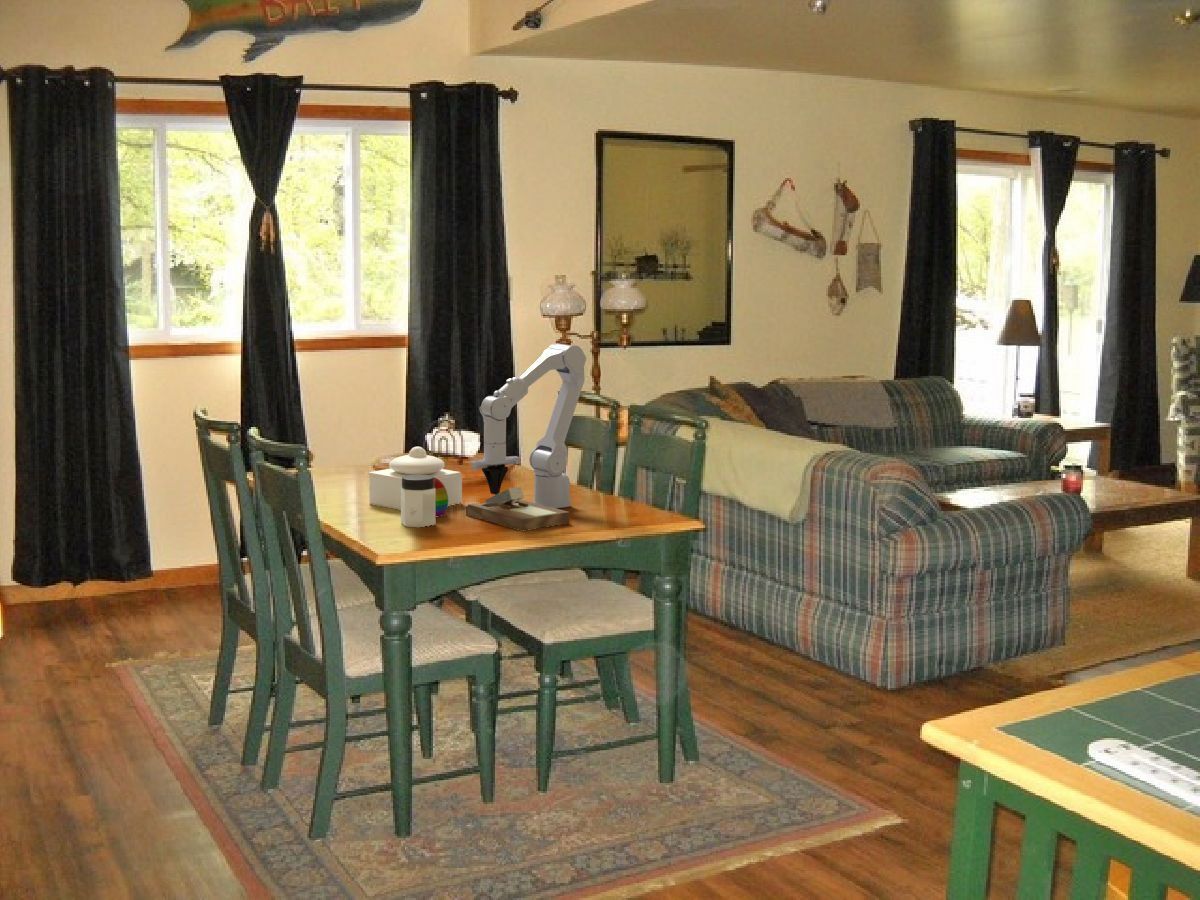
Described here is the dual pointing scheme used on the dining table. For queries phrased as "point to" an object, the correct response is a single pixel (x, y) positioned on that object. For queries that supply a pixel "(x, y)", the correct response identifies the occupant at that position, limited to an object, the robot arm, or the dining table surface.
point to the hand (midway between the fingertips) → (494, 493)
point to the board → (517, 515)
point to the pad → (533, 511)
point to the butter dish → (389, 481)
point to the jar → (418, 501)
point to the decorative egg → (440, 497)
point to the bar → (505, 497)
